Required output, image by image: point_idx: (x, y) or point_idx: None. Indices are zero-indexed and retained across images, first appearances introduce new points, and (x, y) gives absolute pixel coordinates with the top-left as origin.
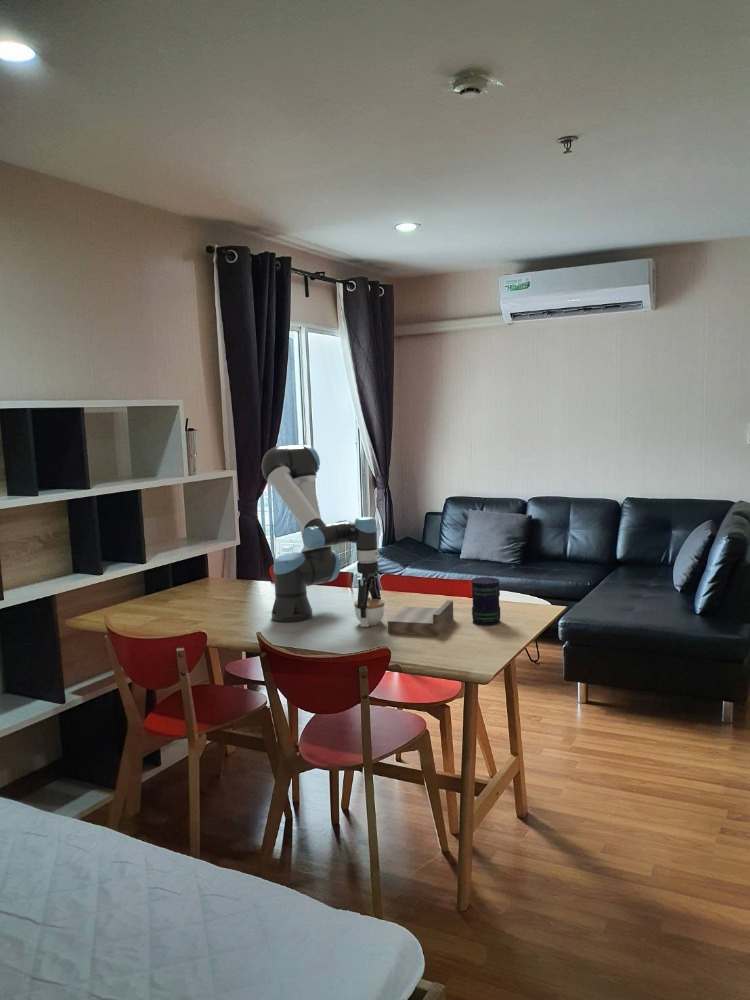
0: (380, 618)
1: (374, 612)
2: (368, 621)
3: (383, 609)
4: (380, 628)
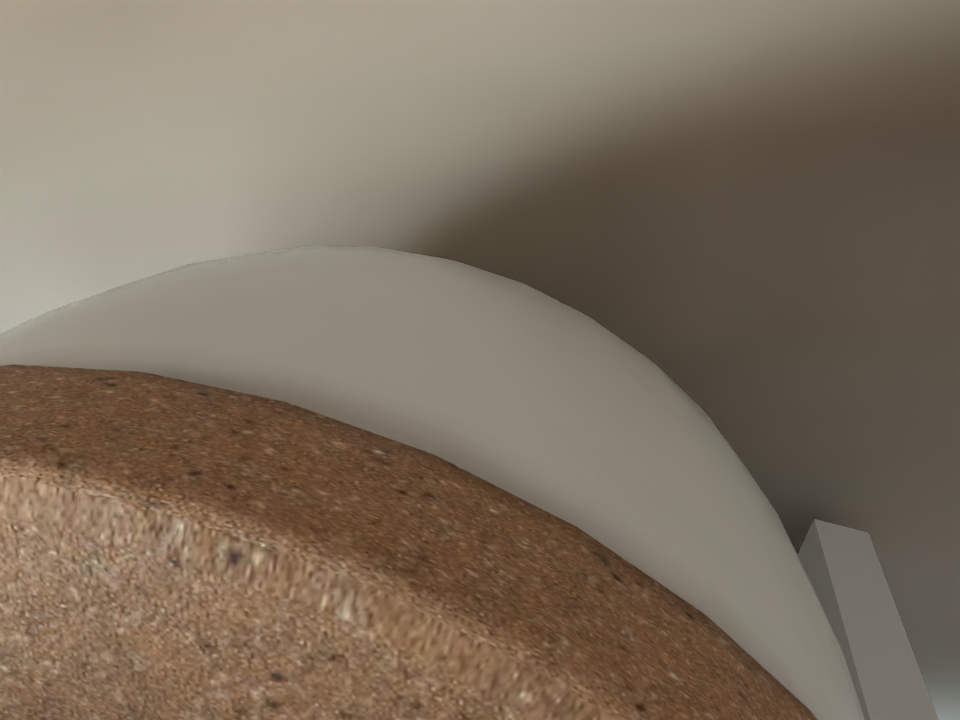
0: (570, 307)
1: (833, 653)
2: (840, 606)
3: (361, 314)
4: (940, 215)
